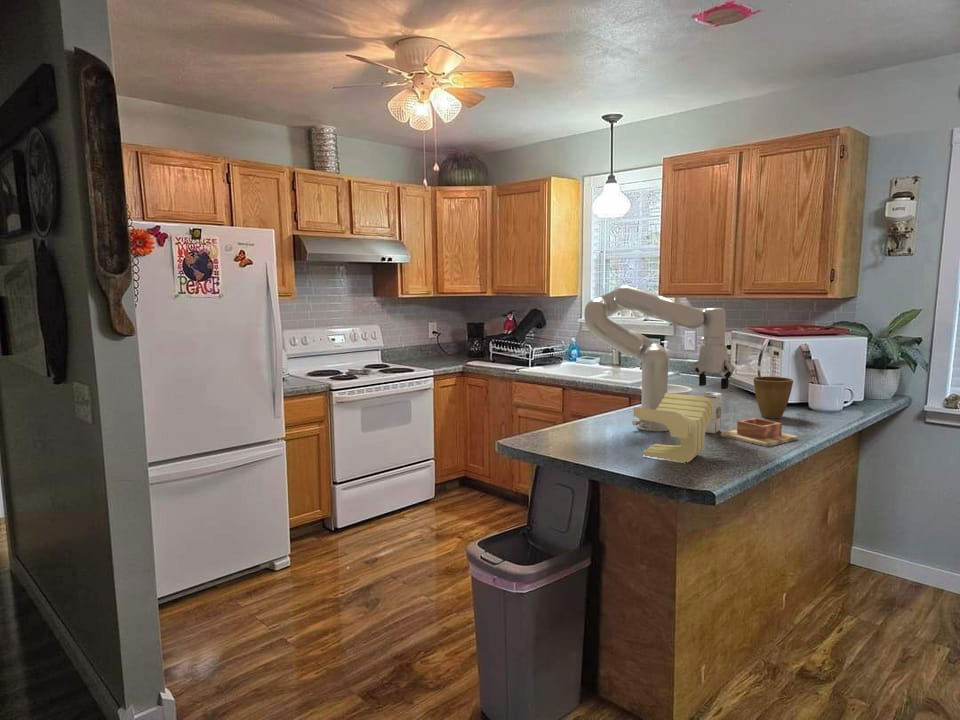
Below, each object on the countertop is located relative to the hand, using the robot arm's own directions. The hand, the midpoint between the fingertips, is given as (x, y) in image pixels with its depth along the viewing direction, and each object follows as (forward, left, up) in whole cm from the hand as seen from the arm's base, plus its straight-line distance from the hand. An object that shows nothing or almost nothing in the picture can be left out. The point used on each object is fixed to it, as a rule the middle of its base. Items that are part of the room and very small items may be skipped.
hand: (713, 387), depth 225 cm
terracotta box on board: (+6, -16, -17) cm, 24 cm away
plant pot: (+42, +3, -17) cm, 45 cm away
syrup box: (0, 0, -17) cm, 17 cm away
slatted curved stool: (-38, -16, -17) cm, 45 cm away
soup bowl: (+31, +50, -17) cm, 61 cm away
